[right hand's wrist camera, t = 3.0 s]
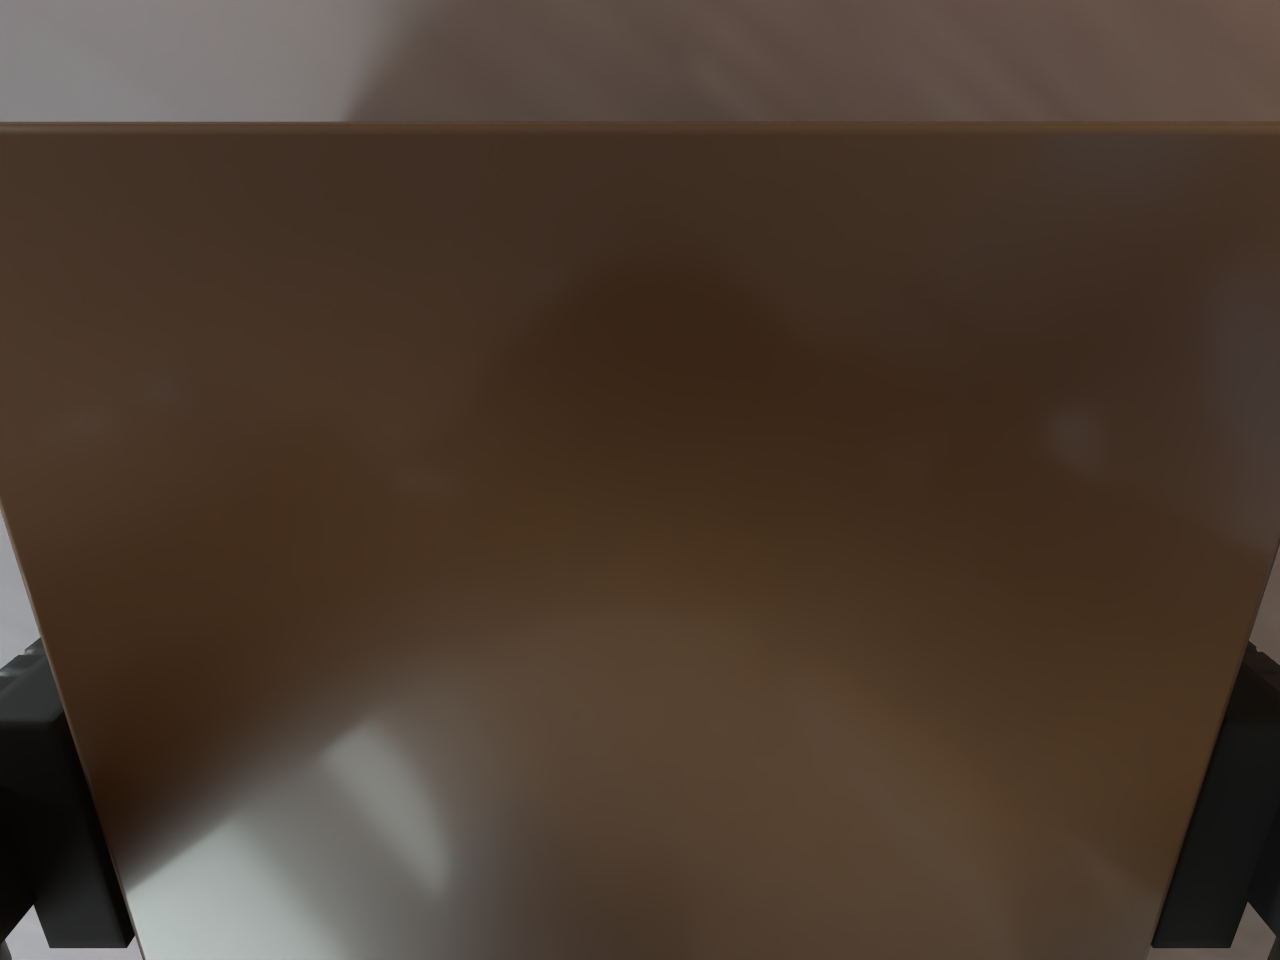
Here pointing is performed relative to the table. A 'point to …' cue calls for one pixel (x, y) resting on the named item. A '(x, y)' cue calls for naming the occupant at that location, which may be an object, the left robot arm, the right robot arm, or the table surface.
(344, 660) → the brown wooden beam
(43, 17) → the table surface
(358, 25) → the table surface
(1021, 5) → the table surface
